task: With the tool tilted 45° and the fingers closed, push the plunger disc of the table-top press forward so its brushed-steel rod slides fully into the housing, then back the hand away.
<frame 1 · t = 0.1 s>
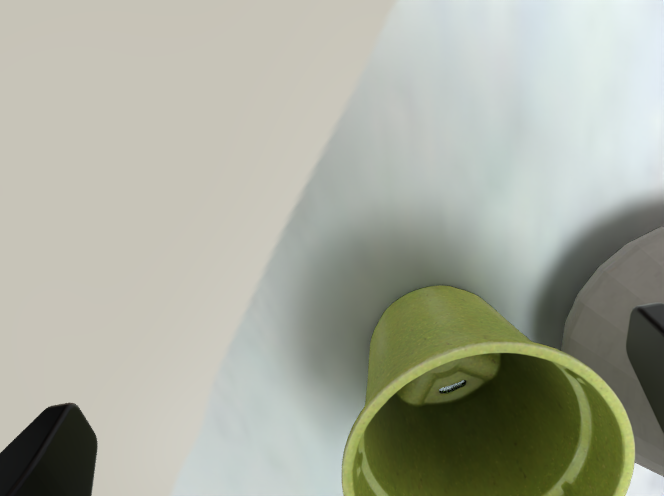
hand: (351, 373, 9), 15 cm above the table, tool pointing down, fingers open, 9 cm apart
plant pot: (436, 341, 27), on the table
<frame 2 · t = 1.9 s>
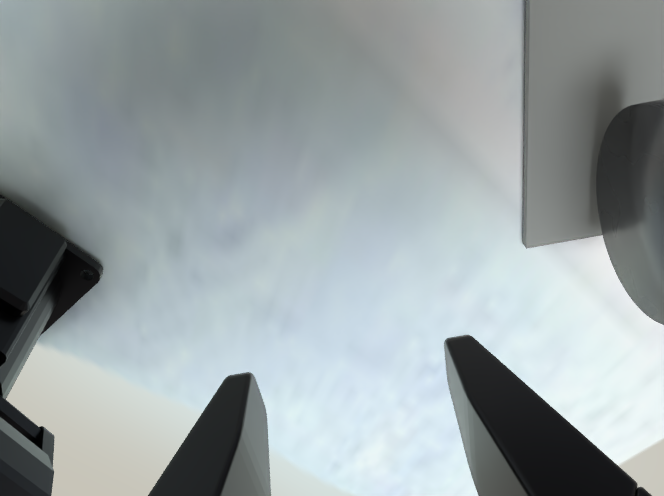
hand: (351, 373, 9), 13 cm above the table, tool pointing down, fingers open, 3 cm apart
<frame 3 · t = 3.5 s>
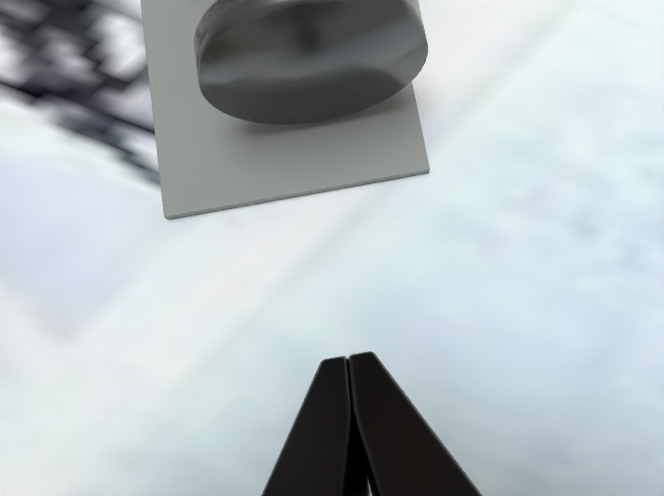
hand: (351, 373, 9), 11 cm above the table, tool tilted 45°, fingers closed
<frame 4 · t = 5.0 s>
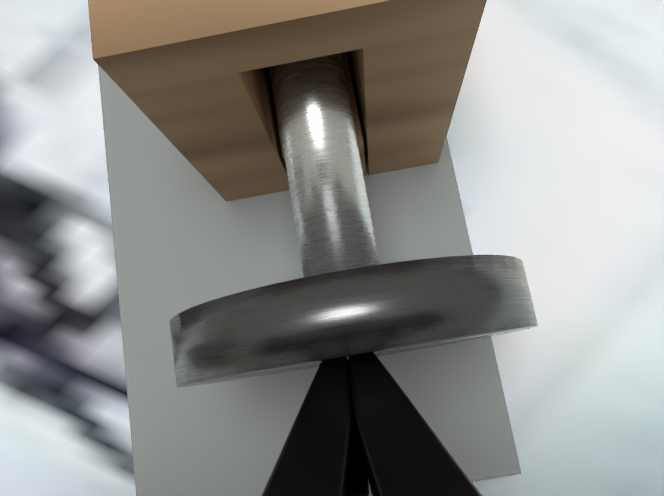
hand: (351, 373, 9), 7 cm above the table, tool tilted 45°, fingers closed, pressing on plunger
plunger: (312, 102, 13), point 4 cm above the table, slide at 1.1 cm, touching gripper
housing: (316, 93, 18), resting on mat
mat: (274, 149, 17), on the table
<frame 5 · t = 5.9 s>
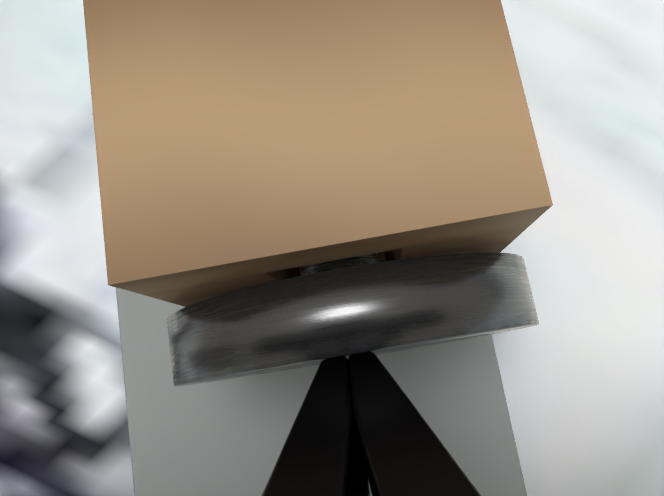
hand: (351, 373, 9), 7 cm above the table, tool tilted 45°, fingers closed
plunger: (311, 98, 13), point 5 cm above the table, slide at 4.7 cm
housing: (335, 202, 17), resting on mat
mat: (291, 263, 17), on the table
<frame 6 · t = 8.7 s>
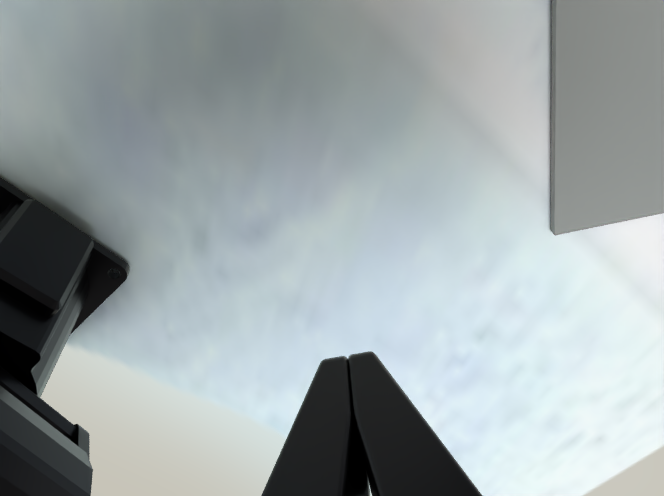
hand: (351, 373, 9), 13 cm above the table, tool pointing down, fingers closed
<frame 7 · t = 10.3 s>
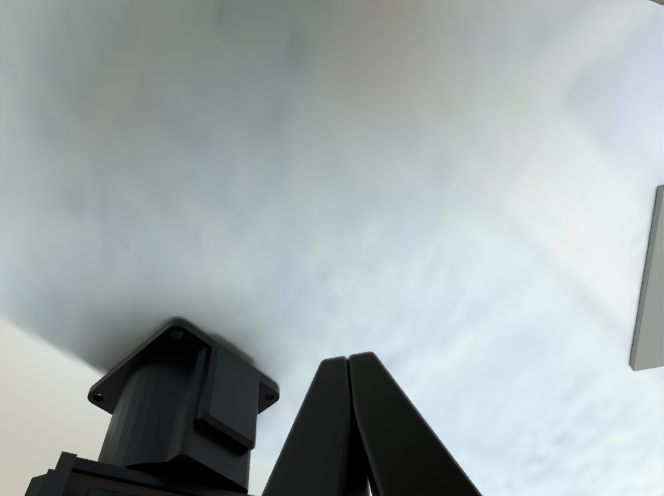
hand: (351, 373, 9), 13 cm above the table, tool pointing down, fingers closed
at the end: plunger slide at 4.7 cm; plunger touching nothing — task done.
